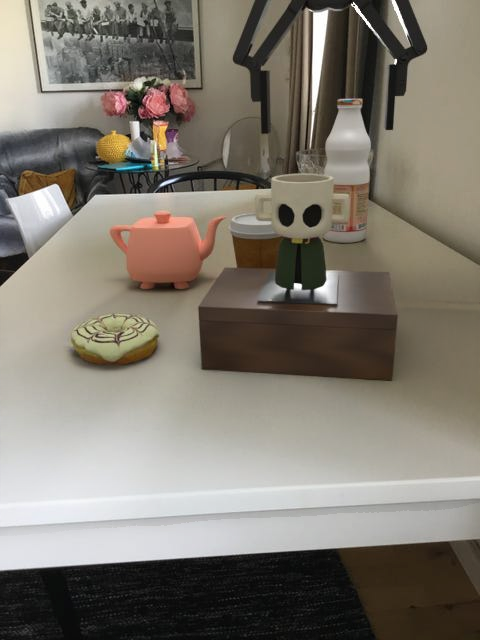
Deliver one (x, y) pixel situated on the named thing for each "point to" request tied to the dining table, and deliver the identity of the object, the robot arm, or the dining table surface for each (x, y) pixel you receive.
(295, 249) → the character mug
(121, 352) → the decorated donut
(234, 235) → the disposable coffee cup
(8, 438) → the dining table surface
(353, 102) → the fruit juice
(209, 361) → the wooden jewelry box
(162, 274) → the teapot
